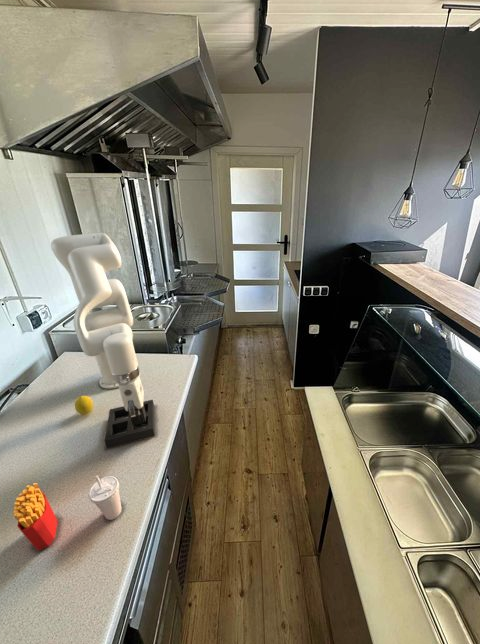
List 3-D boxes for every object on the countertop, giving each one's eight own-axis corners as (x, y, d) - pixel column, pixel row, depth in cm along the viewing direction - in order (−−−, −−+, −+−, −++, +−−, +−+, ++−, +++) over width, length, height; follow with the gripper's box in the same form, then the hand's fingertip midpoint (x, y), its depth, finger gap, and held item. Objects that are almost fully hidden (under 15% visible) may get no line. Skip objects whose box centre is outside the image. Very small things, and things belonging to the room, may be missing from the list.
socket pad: (112, 416, 102) (109, 409, 101) (154, 406, 107) (152, 399, 105) (106, 448, 90) (104, 440, 89) (154, 436, 94) (152, 428, 93)
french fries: (53, 548, 66) (32, 514, 60) (31, 557, 64) (7, 524, 59) (59, 510, 73) (42, 477, 68) (40, 518, 72) (20, 485, 66)
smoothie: (107, 499, 76) (93, 463, 70) (131, 499, 76) (118, 464, 69) (94, 525, 70) (77, 489, 64) (119, 526, 70) (105, 490, 64)
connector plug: (133, 416, 95) (129, 402, 93) (145, 413, 96) (142, 399, 94) (132, 425, 92) (128, 411, 89) (145, 421, 93) (141, 407, 90)
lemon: (88, 420, 101) (81, 403, 98) (75, 418, 102) (67, 401, 99) (99, 409, 106) (93, 392, 102) (86, 407, 107) (80, 390, 103)
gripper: (138, 386, 80) (150, 434, 88) (140, 355, 94) (151, 399, 102) (108, 393, 78) (124, 441, 86) (115, 360, 92) (128, 404, 100)
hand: (138, 417), depth 94 cm, fingers closed on connector plug, 4 cm apart
